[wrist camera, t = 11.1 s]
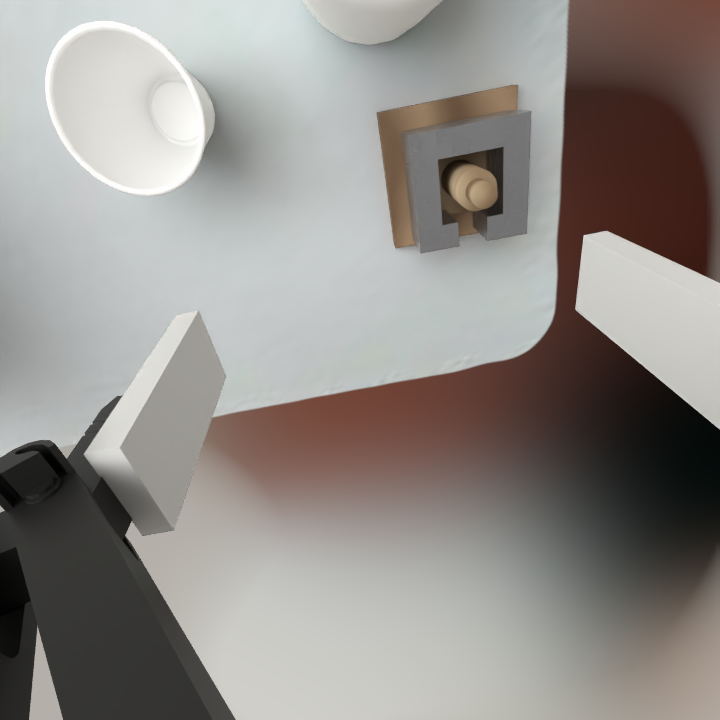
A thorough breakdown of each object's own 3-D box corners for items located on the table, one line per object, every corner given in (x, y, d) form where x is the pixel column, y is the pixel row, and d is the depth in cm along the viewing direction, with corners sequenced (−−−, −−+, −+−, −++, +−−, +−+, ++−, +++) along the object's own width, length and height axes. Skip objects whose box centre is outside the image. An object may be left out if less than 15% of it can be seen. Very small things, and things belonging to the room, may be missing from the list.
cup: (184, 195, 41) (139, 224, 31) (94, 97, 36) (10, 97, 27) (261, 126, 38) (237, 135, 28) (174, 10, 33) (111, -24, 24)
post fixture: (393, 243, 44) (411, 287, 34) (376, 112, 38) (392, 117, 27) (509, 222, 43) (562, 260, 33) (511, 85, 37) (577, 80, 27)
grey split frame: (508, 220, 39) (526, 233, 35) (412, 238, 40) (420, 253, 36) (509, 109, 35) (531, 111, 31) (400, 131, 35) (408, 135, 31)
